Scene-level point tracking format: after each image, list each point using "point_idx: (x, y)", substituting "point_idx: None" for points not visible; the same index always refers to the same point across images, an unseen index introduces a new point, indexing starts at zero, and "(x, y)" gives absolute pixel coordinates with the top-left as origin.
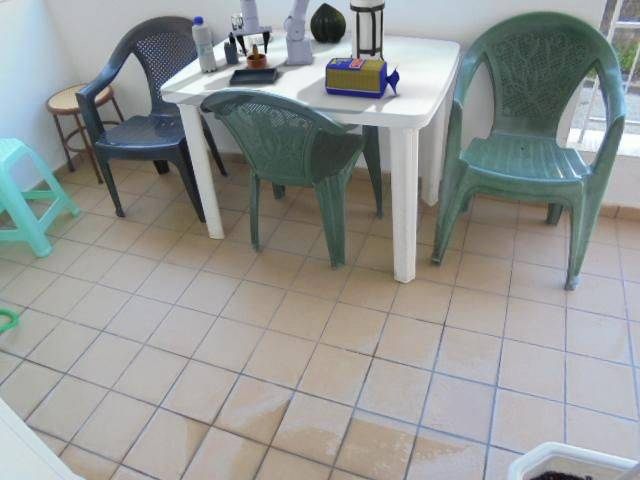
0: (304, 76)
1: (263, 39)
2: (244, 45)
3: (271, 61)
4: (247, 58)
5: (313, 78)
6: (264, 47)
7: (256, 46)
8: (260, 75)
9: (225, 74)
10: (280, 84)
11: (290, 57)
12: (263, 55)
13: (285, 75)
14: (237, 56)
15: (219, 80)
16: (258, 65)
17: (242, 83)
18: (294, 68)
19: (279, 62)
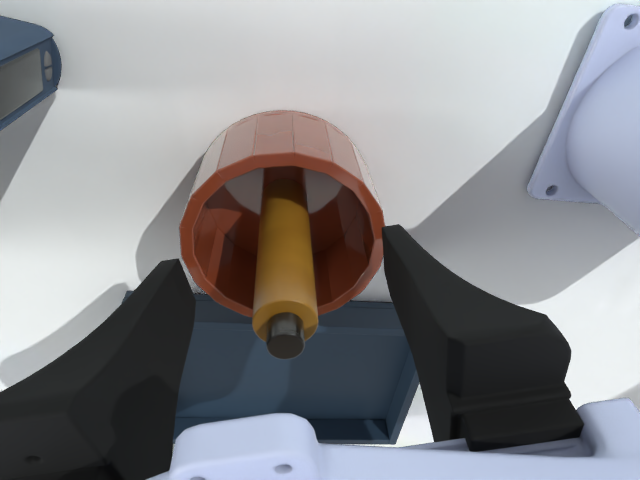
0: (573, 356)
1: (423, 330)
2: (171, 422)
3: (413, 57)
4: (197, 268)
5: (606, 380)
6: (398, 292)
7: (307, 322)
8: (316, 341)
9: (31, 269)
10: (423, 416)
11: (602, 202)
12: (357, 196)
13: None
14: (18, 71)
15: (34, 347)
16: None
17: None
18: (562, 248)
19: (484, 103)
